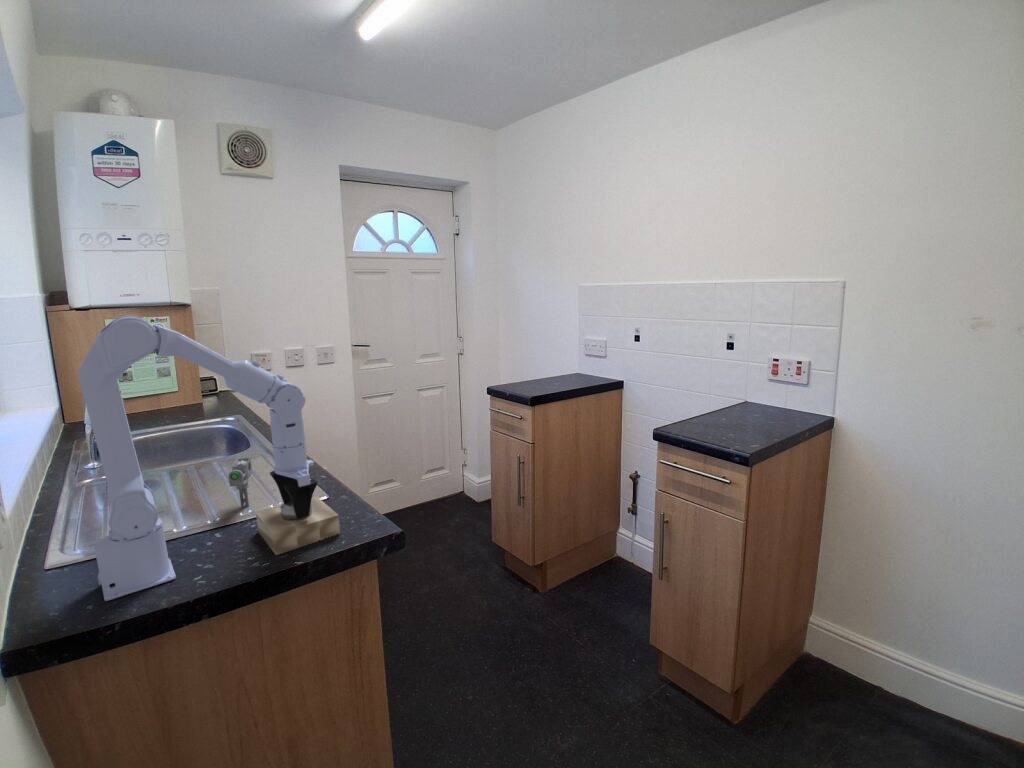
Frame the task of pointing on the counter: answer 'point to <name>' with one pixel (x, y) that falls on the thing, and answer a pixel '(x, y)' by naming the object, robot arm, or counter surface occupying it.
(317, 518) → the block
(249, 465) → the mechanical component
